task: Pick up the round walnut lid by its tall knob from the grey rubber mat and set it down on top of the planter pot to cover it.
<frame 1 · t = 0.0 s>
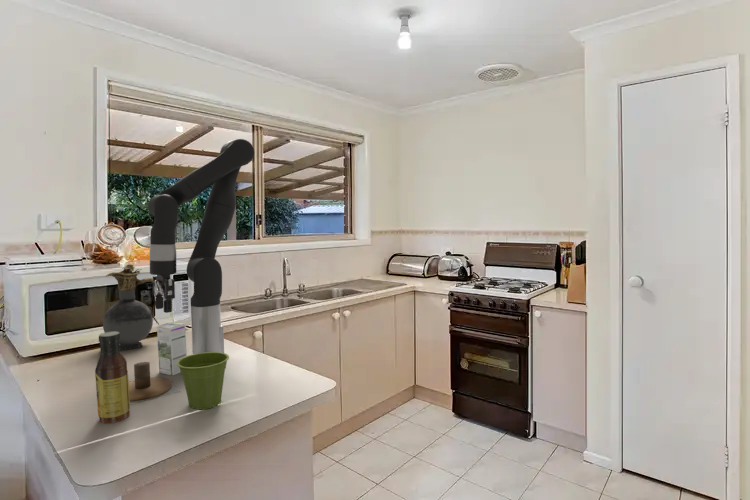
hand: (163, 310, 136), 17 cm above the counter, tool pointing down, fingers open, 8 cm apart
sauce bottle: (114, 420, 98), on the counter
walnut lid: (143, 391, 114), resting on rubber mat
pitcher: (134, 346, 158), on the counter
rubber mat: (143, 392, 114), on the counter
plant pot: (205, 405, 106), on the counter
syrup box: (173, 373, 129), on the counter
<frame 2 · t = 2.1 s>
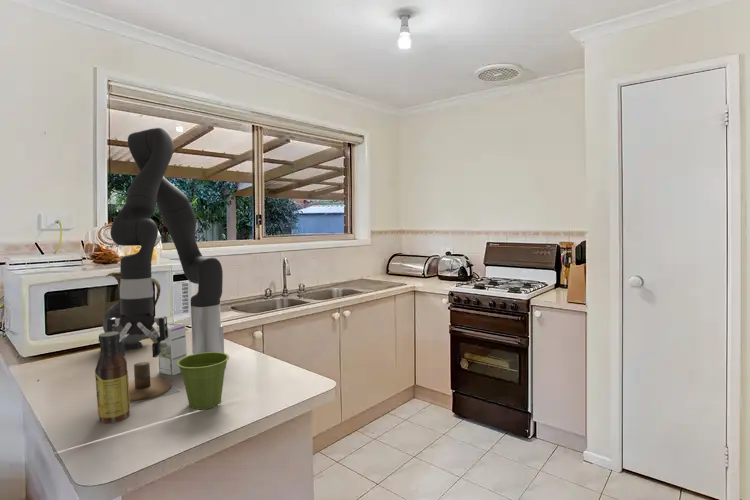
hand: (138, 357, 113), 10 cm above the counter, tool pointing down, fingers open, 8 cm apart
nothing on the counter moved.
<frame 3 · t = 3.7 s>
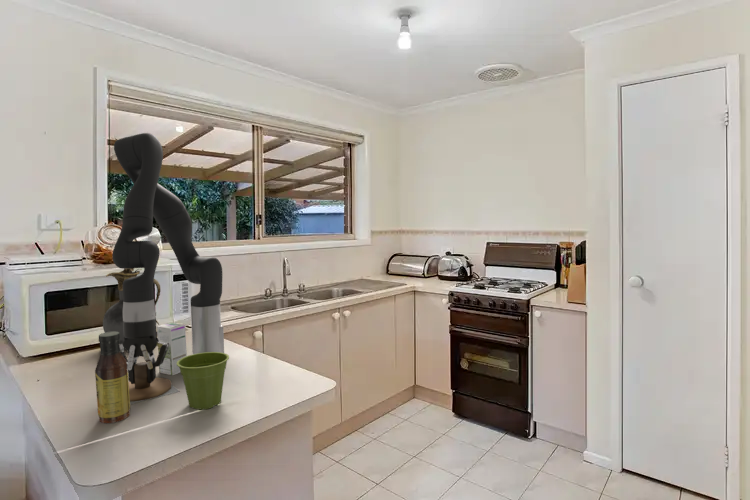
hand: (142, 382, 114), 3 cm above the counter, tool pointing down, fingers closed on walnut lid, 3 cm apart
walnut lid: (142, 391, 114), resting on rubber mat, touching gripper
everything else where it was.
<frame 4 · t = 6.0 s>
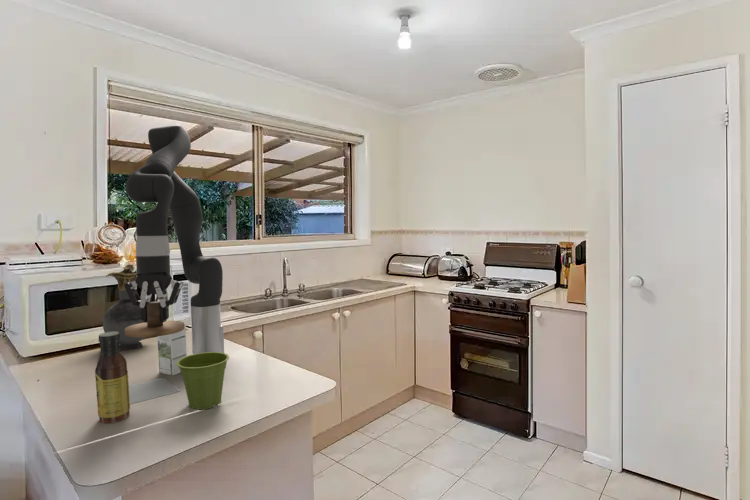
hand: (155, 321, 110), 20 cm above the counter, tool pointing down, fingers closed on walnut lid, 3 cm apart
walnut lid: (155, 330, 110), point 17 cm above the counter, touching gripper
everything else where it was.
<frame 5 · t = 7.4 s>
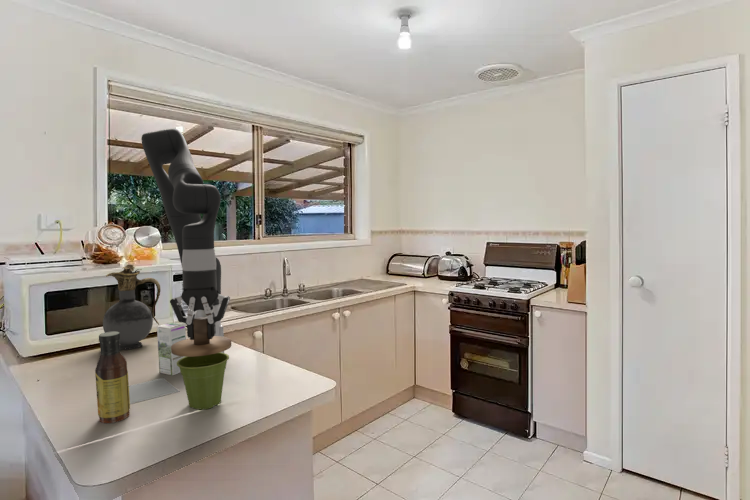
hand: (201, 338, 105), 16 cm above the counter, tool pointing down, fingers closed on walnut lid, 3 cm apart
walnut lid: (202, 348, 105), point 14 cm above the counter, touching gripper
everything else where it was.
when the fingers open (15 cm above the counter, at t = 8.3 s): walnut lid drops 1 cm, resting on plant pot.
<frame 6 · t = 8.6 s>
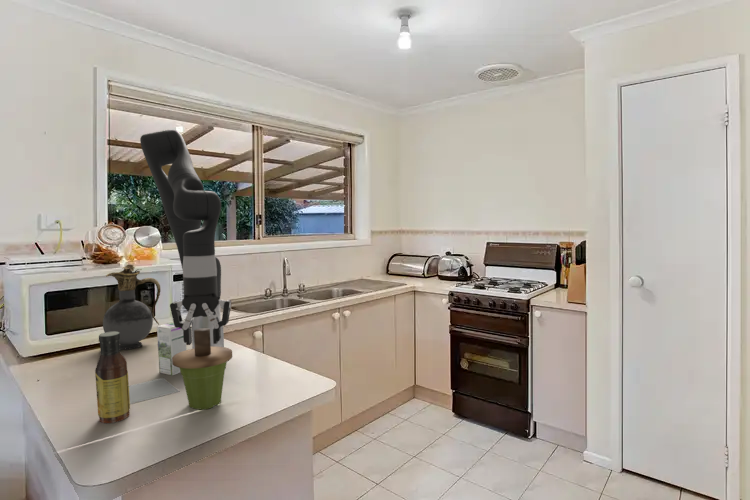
hand: (202, 343, 105), 15 cm above the counter, tool pointing down, fingers open, 5 cm apart
walnut lid: (203, 359, 105), point 11 cm above the counter, touching plant pot
plant pot: (205, 405, 106), on the counter, touching walnut lid
everything else where it was.
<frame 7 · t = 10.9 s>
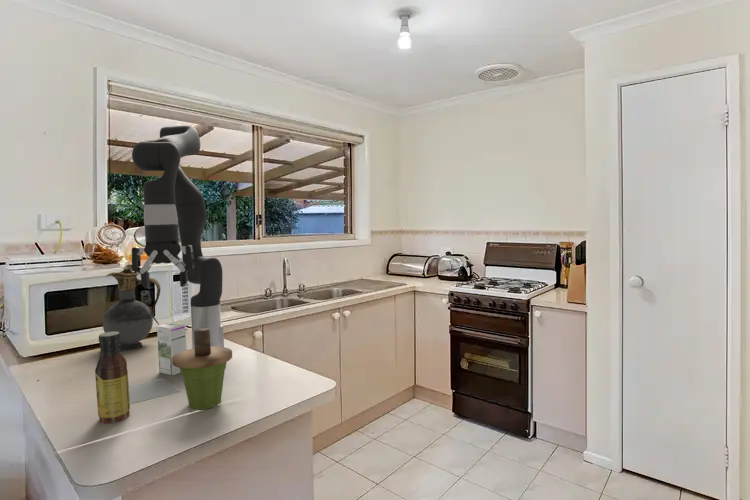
hand: (165, 287, 110), 28 cm above the counter, tool pointing down, fingers open, 8 cm apart
nothing on the counter moved.
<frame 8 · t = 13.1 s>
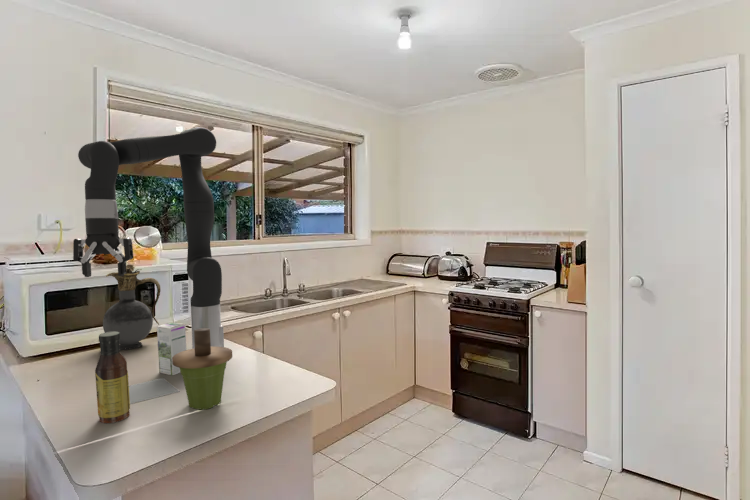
hand: (104, 276, 118), 30 cm above the counter, tool pointing down, fingers open, 8 cm apart
nothing on the counter moved.
at the end: walnut lid inside the target area on the plant pot (0.0 cm from its centre), point 11.4 cm above the plant pot's base; walnut lid tilted 0°; the gripper is holding nothing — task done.
